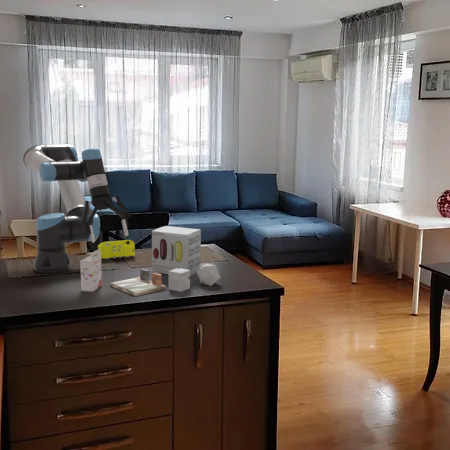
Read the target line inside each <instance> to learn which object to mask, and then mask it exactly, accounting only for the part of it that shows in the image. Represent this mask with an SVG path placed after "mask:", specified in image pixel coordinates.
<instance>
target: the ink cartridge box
mask: <svg viewBox="0 0 450 450" xmlns="http://www.w3.org/2000/svg"><path fill="white" fill-rule="evenodd" d="M79 264H80V265H79V267H80V287H81V288H80V289H81V292H94V291H96V290H98V289H99V288H100V287H101V286H103V285H102V284H103V283H102V279H103V278H102V277H103V275H102V259H101V254H100V249H98V248H97V250H94V251H93V252H91V253H90V255H89V256H87V257H85V258H83V259H81V260H79Z"/></svg>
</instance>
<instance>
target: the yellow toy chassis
mask: <svg viewBox="0 0 450 450" xmlns="http://www.w3.org/2000/svg"><path fill="white" fill-rule="evenodd" d="M135 245H136V243H135V242H134V241H133V240H132V239H125V240H124V239H123V240H113V241H111V240H110V241H104V242H101V243H99V244H98V245H97V250H98V249H100V254H101V260H110V259H116V258H119V259H121V258H123V257H124V258H130V257H132V256H133V257H135V256H136V253H135V252H136V247H135Z"/></svg>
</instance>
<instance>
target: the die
mask: <svg viewBox="0 0 450 450" xmlns="http://www.w3.org/2000/svg"><path fill="white" fill-rule="evenodd" d="M196 274H197V277H198V280H199V281H200V284H201V285H206V286H210V287H212V286H213V285H214V284H215V283H216V282H217V281H218V280H219V279H221V275H220V272H219V270H218V267H217V265H215V264H211V263H205V264H203V265H201V268H200V269H199V270H198V271H197V272H196Z"/></svg>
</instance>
